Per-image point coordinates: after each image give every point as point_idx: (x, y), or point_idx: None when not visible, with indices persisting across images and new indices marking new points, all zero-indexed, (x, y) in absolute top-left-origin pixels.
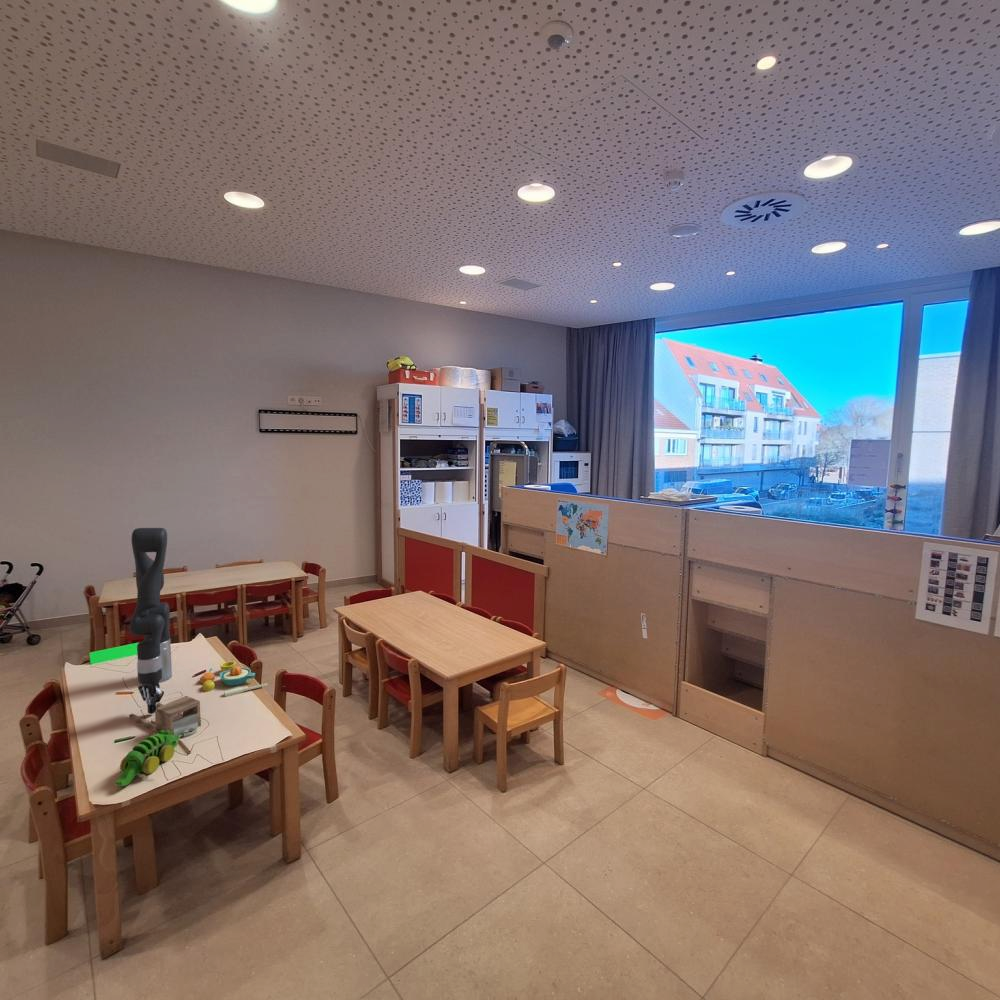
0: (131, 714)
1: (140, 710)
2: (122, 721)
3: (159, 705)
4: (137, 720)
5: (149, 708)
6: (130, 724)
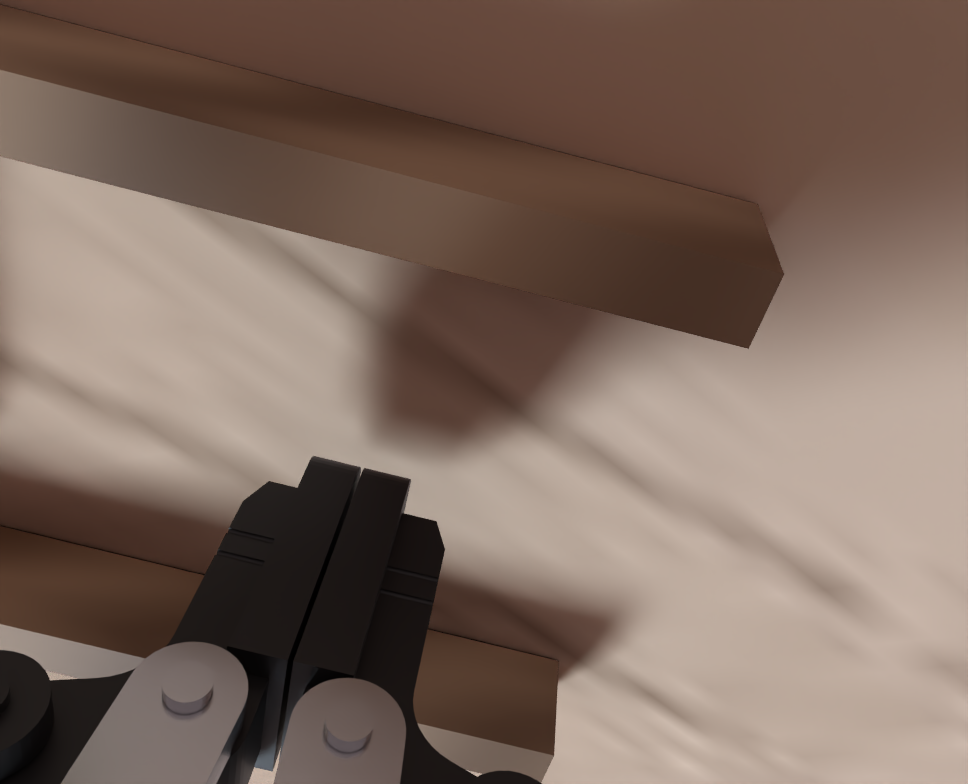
0: (726, 304)
1: (849, 580)
2: (912, 91)
3: (441, 721)
4: (323, 127)
5: (284, 559)
6: (520, 14)
